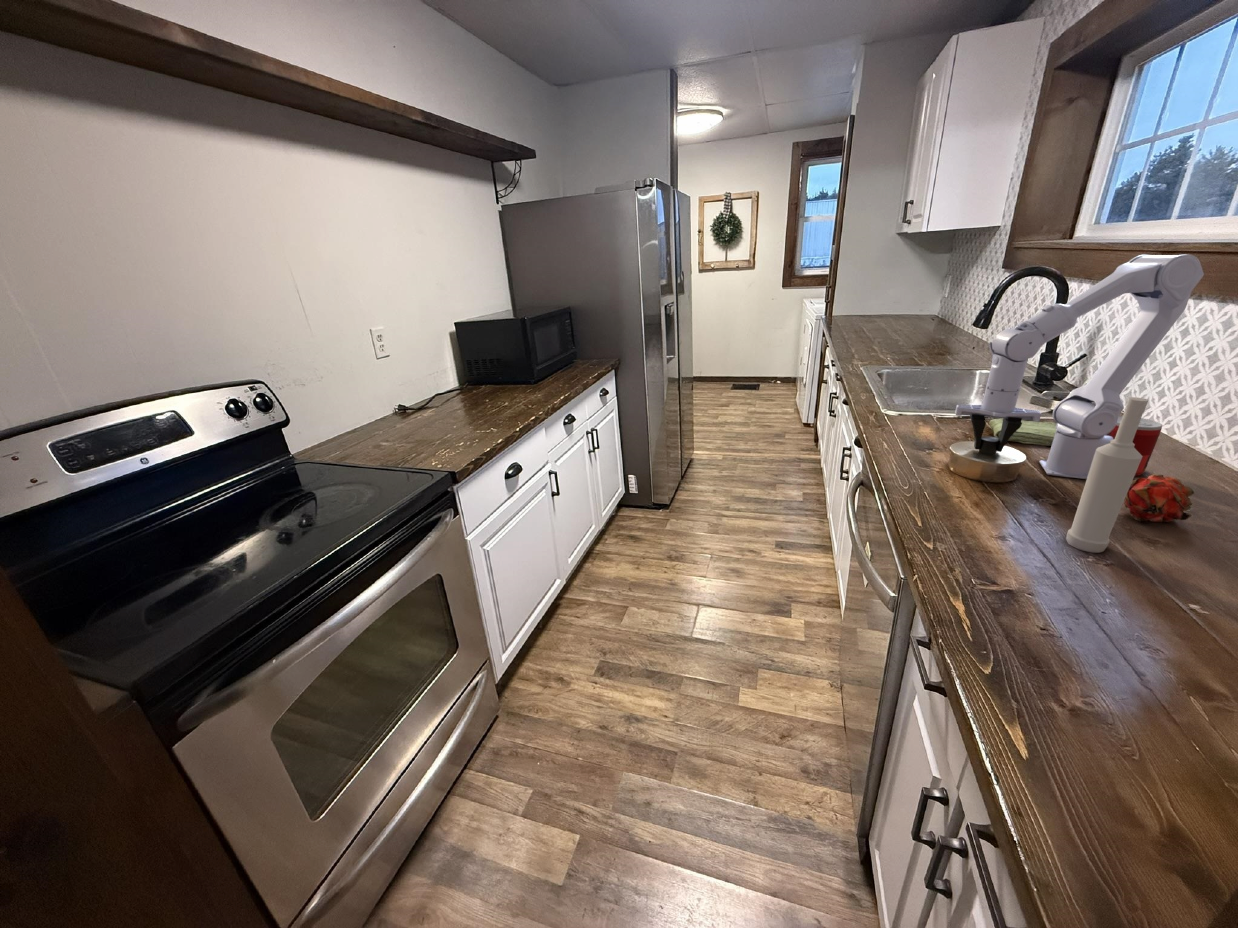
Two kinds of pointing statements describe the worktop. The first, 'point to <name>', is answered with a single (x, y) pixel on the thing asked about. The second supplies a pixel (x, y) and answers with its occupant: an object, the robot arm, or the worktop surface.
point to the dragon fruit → (1158, 499)
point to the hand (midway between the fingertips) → (987, 449)
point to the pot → (983, 470)
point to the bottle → (1107, 484)
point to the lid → (987, 453)
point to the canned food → (1142, 440)
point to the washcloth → (1028, 432)
